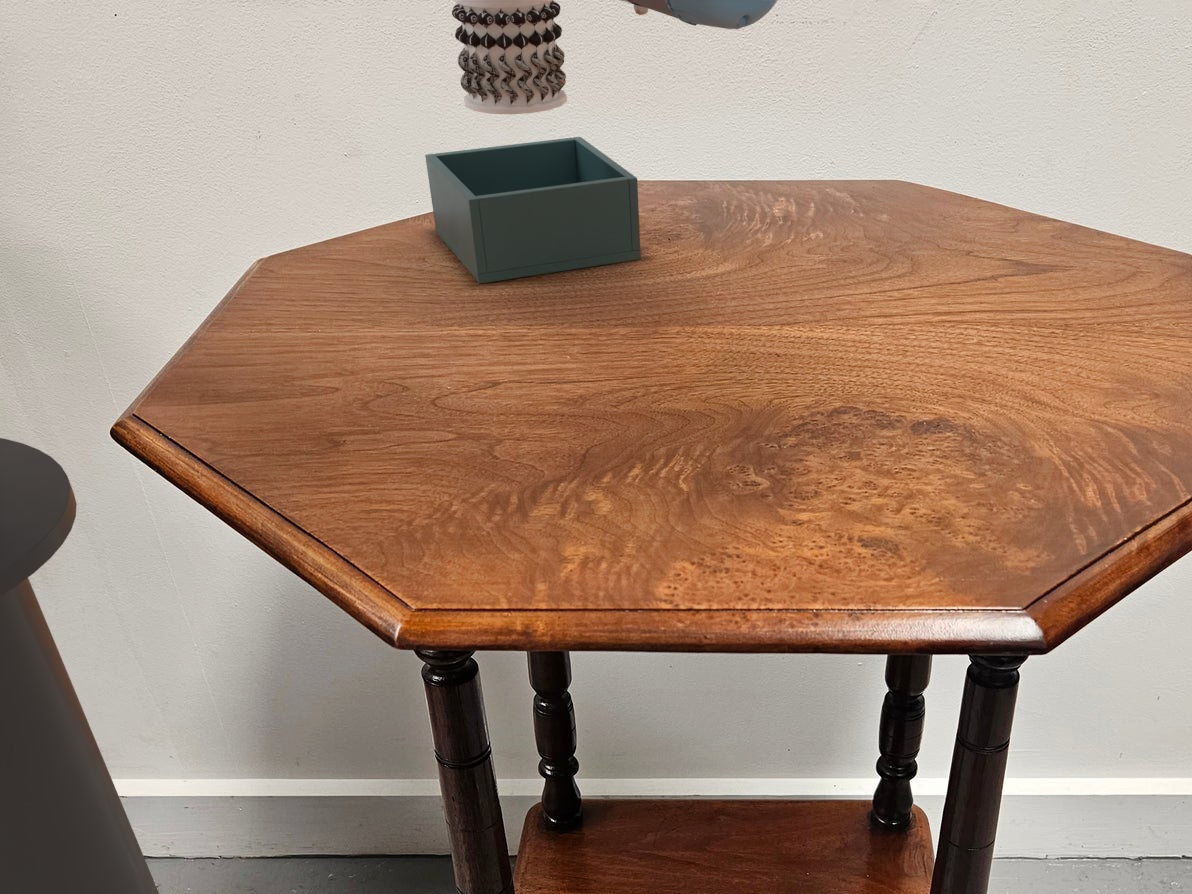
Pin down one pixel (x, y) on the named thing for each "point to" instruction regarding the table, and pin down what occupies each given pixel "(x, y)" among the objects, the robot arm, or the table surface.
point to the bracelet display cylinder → (510, 55)
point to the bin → (534, 208)
